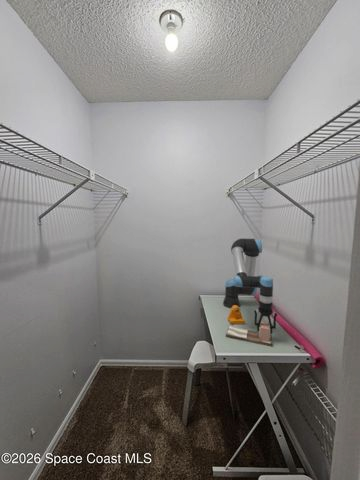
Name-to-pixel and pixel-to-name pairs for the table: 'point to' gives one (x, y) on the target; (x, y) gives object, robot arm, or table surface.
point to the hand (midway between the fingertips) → (264, 337)
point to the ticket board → (247, 336)
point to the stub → (264, 331)
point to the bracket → (235, 316)
